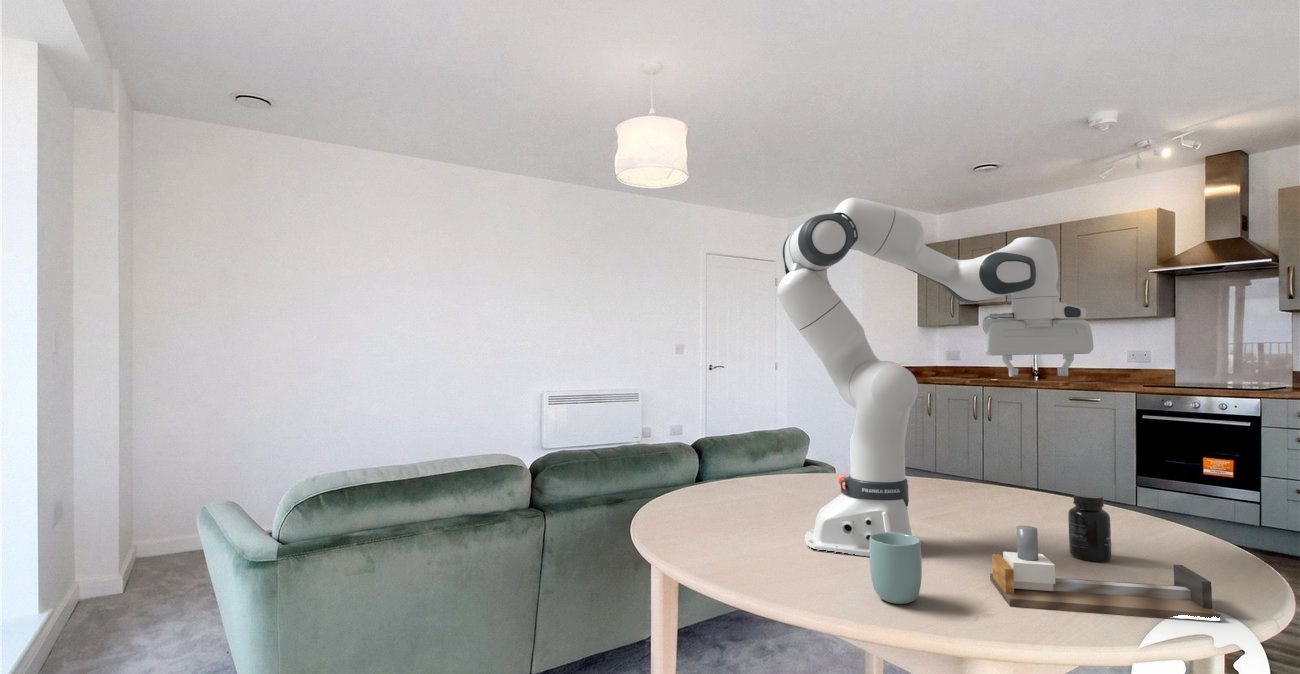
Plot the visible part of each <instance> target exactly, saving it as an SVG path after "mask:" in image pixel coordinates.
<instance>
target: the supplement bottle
mask: <svg viewBox="0 0 1300 674" xmlns="http://www.w3.org/2000/svg"><path fill="white" fill-rule="evenodd" d="M1072 503H1073V505H1074V506H1073V507H1070V509H1069V510H1068V512H1067V513H1068V514H1067V515H1068V516H1067V520H1068V544H1069V545H1068V548H1069V554H1070V555H1071V557H1073V558H1076V559H1077V560H1083V561H1088V562H1094V563H1095V562H1096V563H1106V562H1109V561H1111V559H1112V558H1113V557H1112V553H1113V552H1112V534H1111V533H1112V532H1111V531H1112V530H1111V525H1112V524H1111V516H1110V514H1109V513H1108V512H1107V511H1106V510H1104V509H1103V508H1104V506H1105V504H1104V496H1101V495H1098V494H1092V493H1075V494H1074V493H1073V501H1072Z"/></svg>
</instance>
